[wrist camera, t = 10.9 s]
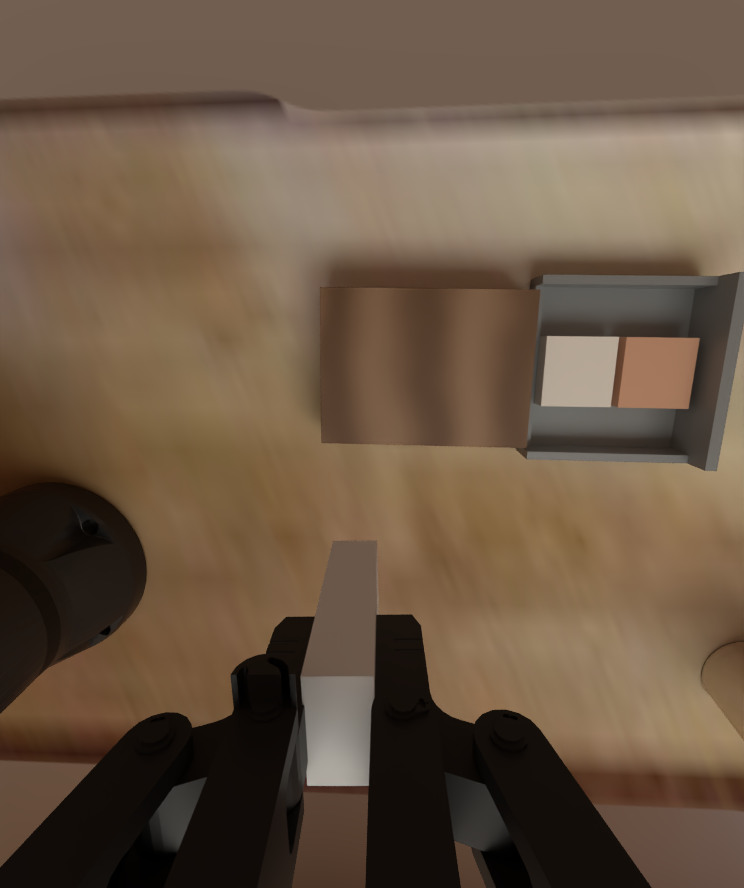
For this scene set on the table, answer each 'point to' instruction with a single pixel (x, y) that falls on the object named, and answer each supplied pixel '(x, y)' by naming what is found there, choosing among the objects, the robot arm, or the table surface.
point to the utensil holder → (727, 682)
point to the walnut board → (427, 365)
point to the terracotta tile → (654, 372)
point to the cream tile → (575, 371)
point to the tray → (641, 315)
